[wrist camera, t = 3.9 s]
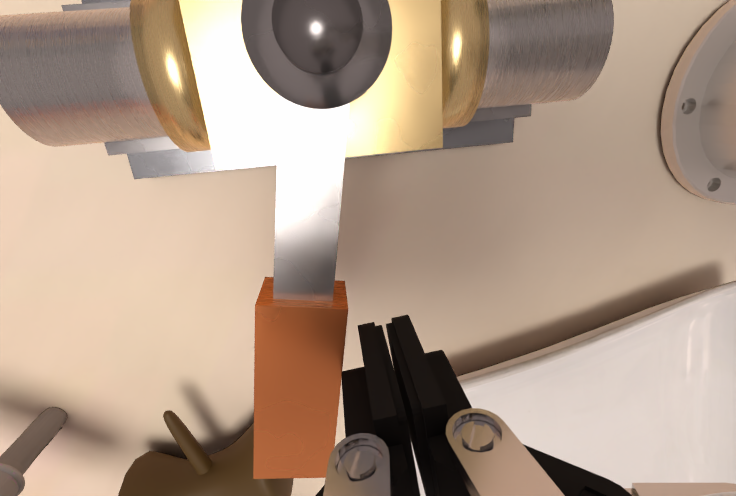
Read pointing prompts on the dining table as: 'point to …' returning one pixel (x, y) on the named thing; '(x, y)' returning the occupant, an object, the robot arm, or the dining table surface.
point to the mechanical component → (28, 450)
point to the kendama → (200, 469)
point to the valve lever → (307, 218)
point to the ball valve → (260, 103)
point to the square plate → (629, 394)
